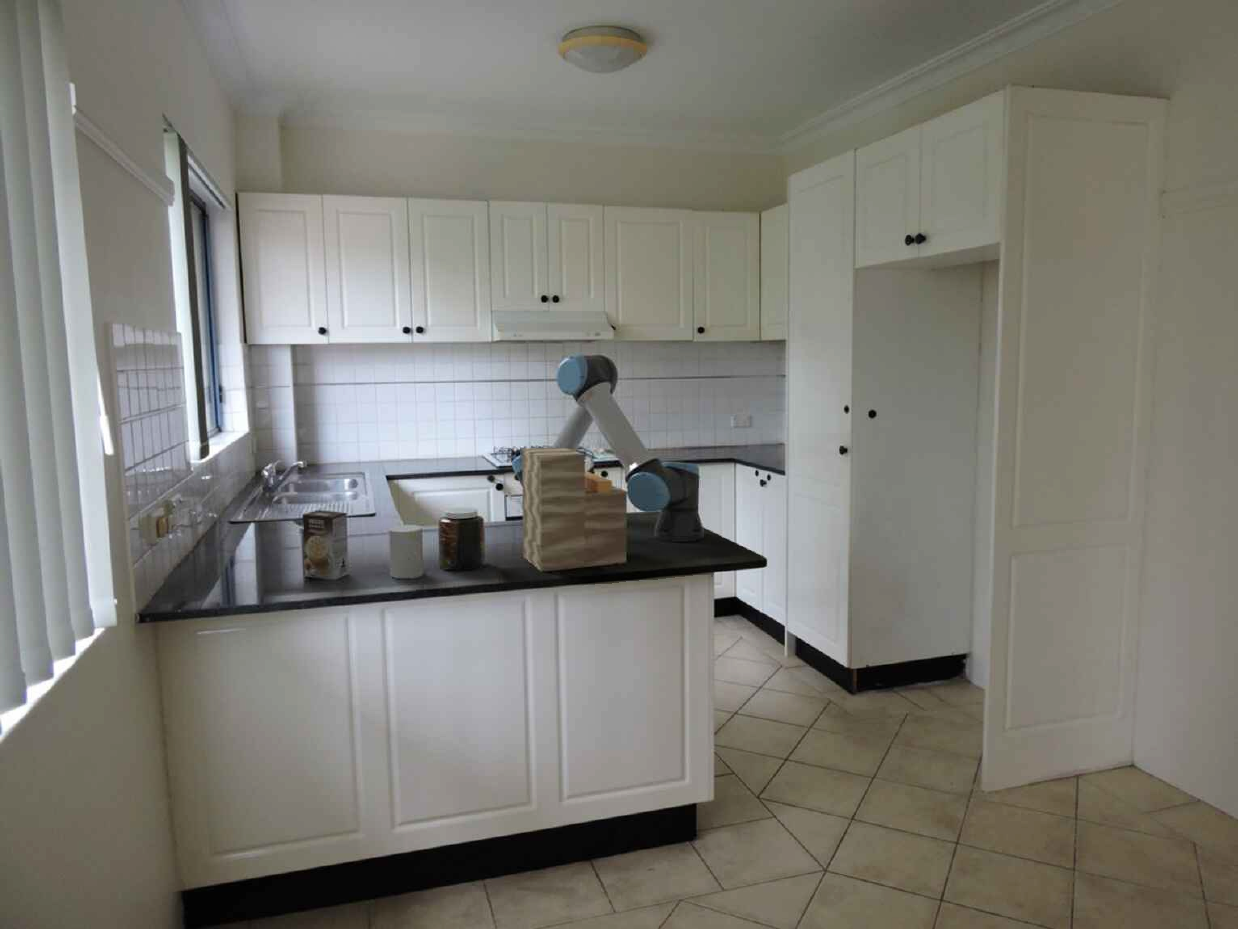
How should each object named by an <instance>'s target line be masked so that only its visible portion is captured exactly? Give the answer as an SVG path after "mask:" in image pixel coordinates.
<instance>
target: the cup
mask: <svg viewBox="0 0 1238 929" xmlns="http://www.w3.org/2000/svg"><path fill="white" fill-rule="evenodd" d="M388 539H389V540H388V542H389V547H388V548H389V568H390V570H389V573H390V575H391V576H393V577H395V578H394V579H396V578H411V579H415V578H414V577H417V578H419V577H418V576H420V575H422V576H423V575H424V554H423V553H424V549H423V548H424V547H423V546H424V545H423V527H422V526H420V525H416V524H404V525H403V524H401V525H396V526H392V527H389V528H388ZM391 576H390V577H391ZM420 577H421V576H420Z"/></svg>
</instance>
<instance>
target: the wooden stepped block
mask: <svg viewBox="0 0 1238 929" xmlns="http://www.w3.org/2000/svg"><path fill="white" fill-rule="evenodd" d="M520 455H521V457H522V486H521V487H522V549H523V550H522V551H523V552H522V557H524V558H523V559H524V560H526V559H527V560H528V561H527V560H526V561H527V562H529V563H530V564H531V563H532V564H533V567H535V568H536V567H537V568H536V569H538V570H539V571H540V572H541V571H542V572H548V571H549V572H550V571H561V570H568V569H569V570H571V569H578V568H587V567H588V568H589V567H595V566H596V567H598V566H606V565H615V563H618V564H625V563H627V523H628V522H627V520H628V519H627V516H628V515H627V514H628V512H627V510H628V508H627V506H628V504H627V502H628V499H627V498H628V496H627V490H624V489H621V488H619V487H616V486H614V485H612V492H605V493H597V492H595V491H592V490H590V489H588V488H585V463H586V461H585V460H586V457H585V456H586V455H585V453H582V452H578V451H577V450H576V451H573V450H570V449H567V448H564V447H557V448H552V447H539V448H538V447H537V448H536V447H535V448H520ZM532 564H531V565H532Z"/></svg>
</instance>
